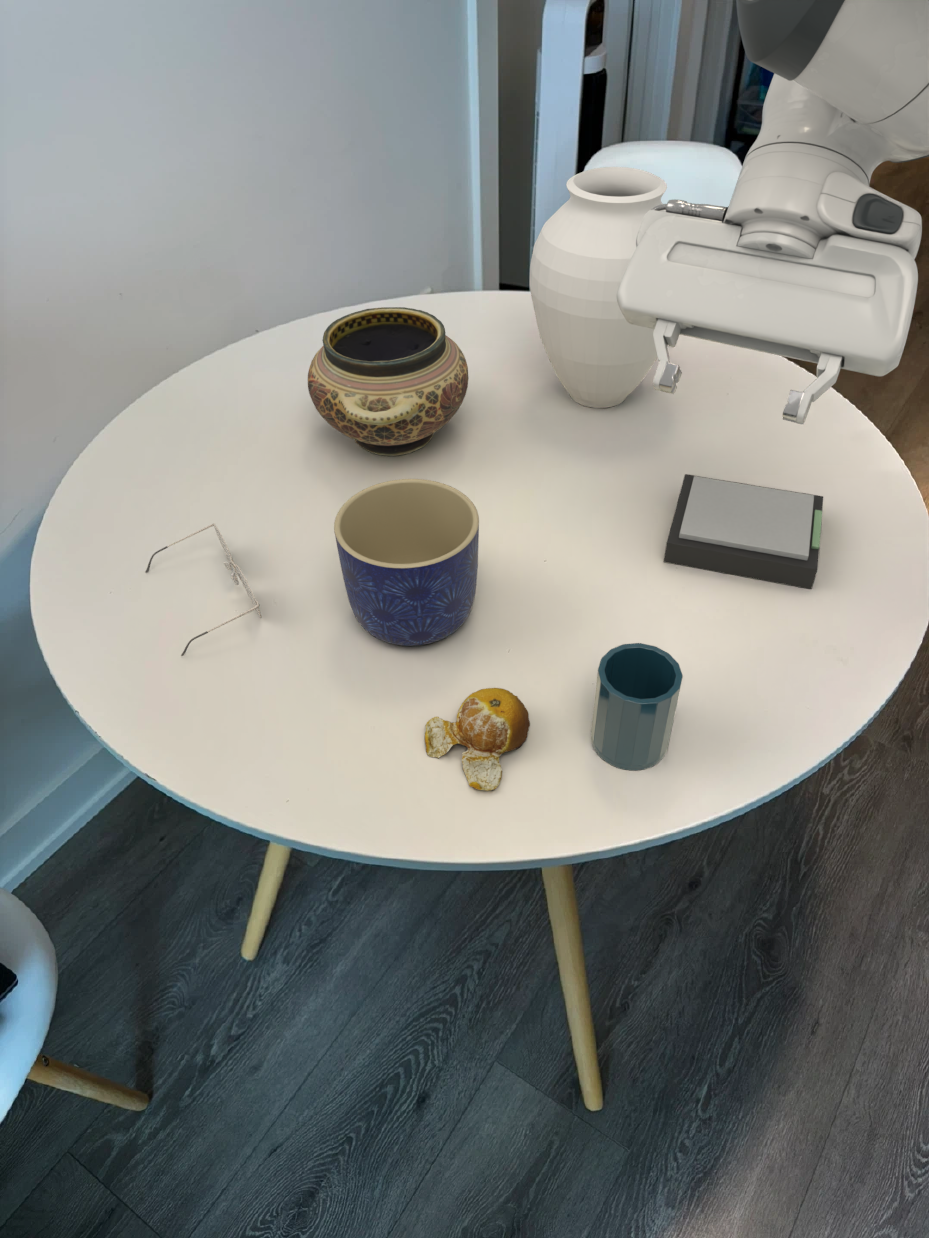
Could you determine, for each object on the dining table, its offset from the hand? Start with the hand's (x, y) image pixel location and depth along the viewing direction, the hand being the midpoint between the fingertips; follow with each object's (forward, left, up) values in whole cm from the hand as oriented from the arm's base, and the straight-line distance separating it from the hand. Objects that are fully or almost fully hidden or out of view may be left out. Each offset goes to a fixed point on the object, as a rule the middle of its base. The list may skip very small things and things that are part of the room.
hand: (726, 404), depth 66 cm
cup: (+2, +12, -24) cm, 27 cm away
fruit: (+14, +16, -24) cm, 32 cm away
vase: (+16, -41, -24) cm, 50 cm away
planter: (+24, +3, -24) cm, 34 cm away
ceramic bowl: (+37, -25, -24) cm, 51 cm away
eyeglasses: (+44, +7, -24) cm, 51 cm away
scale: (-4, -17, -24) cm, 30 cm away
